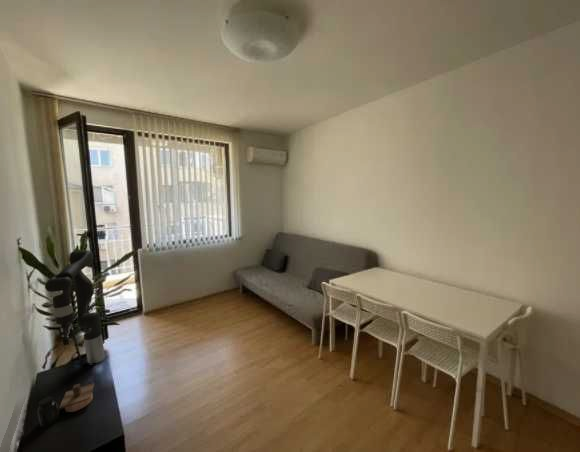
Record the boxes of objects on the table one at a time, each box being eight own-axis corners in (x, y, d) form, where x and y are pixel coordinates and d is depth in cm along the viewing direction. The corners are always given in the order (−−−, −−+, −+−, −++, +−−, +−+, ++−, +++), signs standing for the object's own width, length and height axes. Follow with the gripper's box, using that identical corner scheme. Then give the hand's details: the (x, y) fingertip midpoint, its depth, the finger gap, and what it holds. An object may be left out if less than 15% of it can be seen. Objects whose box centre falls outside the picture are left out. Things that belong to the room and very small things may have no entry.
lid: (66, 393, 133) (64, 383, 132) (94, 384, 139) (92, 374, 138) (59, 409, 123) (57, 398, 122) (89, 399, 128) (87, 388, 128)
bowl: (69, 401, 134) (68, 393, 133) (94, 393, 139) (93, 385, 138) (62, 417, 124) (61, 408, 123) (90, 407, 129) (88, 398, 128)
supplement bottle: (56, 414, 126) (52, 392, 125) (62, 419, 123) (57, 397, 121) (38, 425, 120) (33, 402, 119) (43, 431, 117) (38, 408, 115)
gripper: (59, 310, 141) (64, 336, 143) (50, 320, 128) (55, 349, 130) (76, 306, 144) (80, 332, 146) (68, 316, 132) (73, 345, 134)
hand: (68, 340), depth 138 cm, fingers open, 8 cm apart
